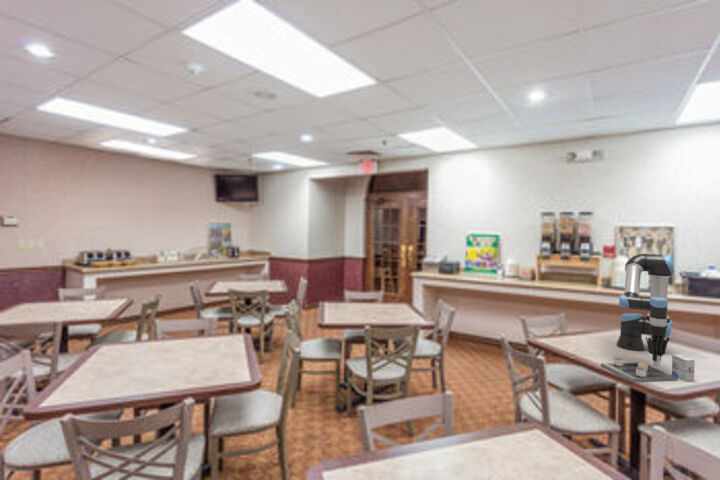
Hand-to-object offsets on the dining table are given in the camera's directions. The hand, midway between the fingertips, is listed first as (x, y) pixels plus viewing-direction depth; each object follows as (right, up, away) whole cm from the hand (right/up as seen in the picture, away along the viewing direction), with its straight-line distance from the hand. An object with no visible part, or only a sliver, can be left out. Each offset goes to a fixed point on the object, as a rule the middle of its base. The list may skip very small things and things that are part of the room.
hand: (656, 366), depth 200 cm
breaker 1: (-17, -1, +6) cm, 18 cm away
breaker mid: (-8, -2, -1) cm, 8 cm away
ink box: (+8, -4, -7) cm, 12 cm away
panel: (-11, -3, -1) cm, 12 cm away
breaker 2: (-16, -2, -9) cm, 18 cm away
